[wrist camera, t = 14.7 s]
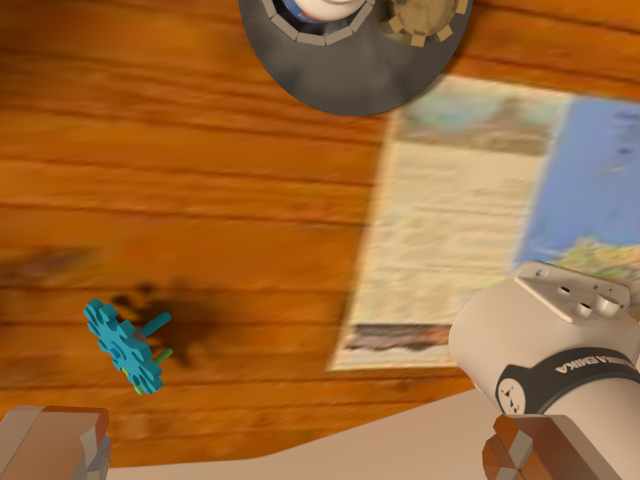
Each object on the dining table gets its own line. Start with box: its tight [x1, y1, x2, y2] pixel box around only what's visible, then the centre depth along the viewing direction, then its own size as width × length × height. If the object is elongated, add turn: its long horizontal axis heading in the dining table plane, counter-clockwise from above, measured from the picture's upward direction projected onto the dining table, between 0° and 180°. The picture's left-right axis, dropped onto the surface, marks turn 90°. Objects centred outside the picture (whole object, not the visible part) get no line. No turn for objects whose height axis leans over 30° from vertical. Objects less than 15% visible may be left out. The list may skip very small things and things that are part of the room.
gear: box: [83, 299, 173, 395], centre depth 39 cm, size 11×6×10 cm
